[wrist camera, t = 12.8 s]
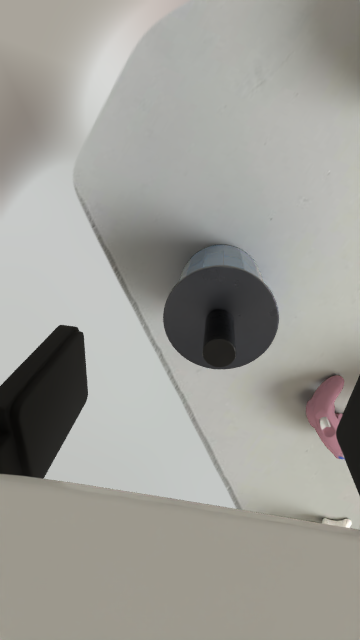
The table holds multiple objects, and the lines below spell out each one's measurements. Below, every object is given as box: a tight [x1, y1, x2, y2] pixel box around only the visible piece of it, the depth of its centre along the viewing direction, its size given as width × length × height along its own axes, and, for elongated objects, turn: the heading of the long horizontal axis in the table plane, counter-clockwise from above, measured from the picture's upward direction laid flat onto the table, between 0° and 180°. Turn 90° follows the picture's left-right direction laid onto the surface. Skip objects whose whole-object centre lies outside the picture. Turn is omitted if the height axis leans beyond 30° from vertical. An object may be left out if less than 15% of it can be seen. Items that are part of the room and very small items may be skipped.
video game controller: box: [306, 375, 345, 459], centre depth 39 cm, size 10×5×7 cm, turn 39°
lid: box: [163, 265, 279, 369], centre depth 25 cm, size 10×10×6 cm
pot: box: [179, 245, 263, 281], centre depth 31 cm, size 9×9×9 cm
